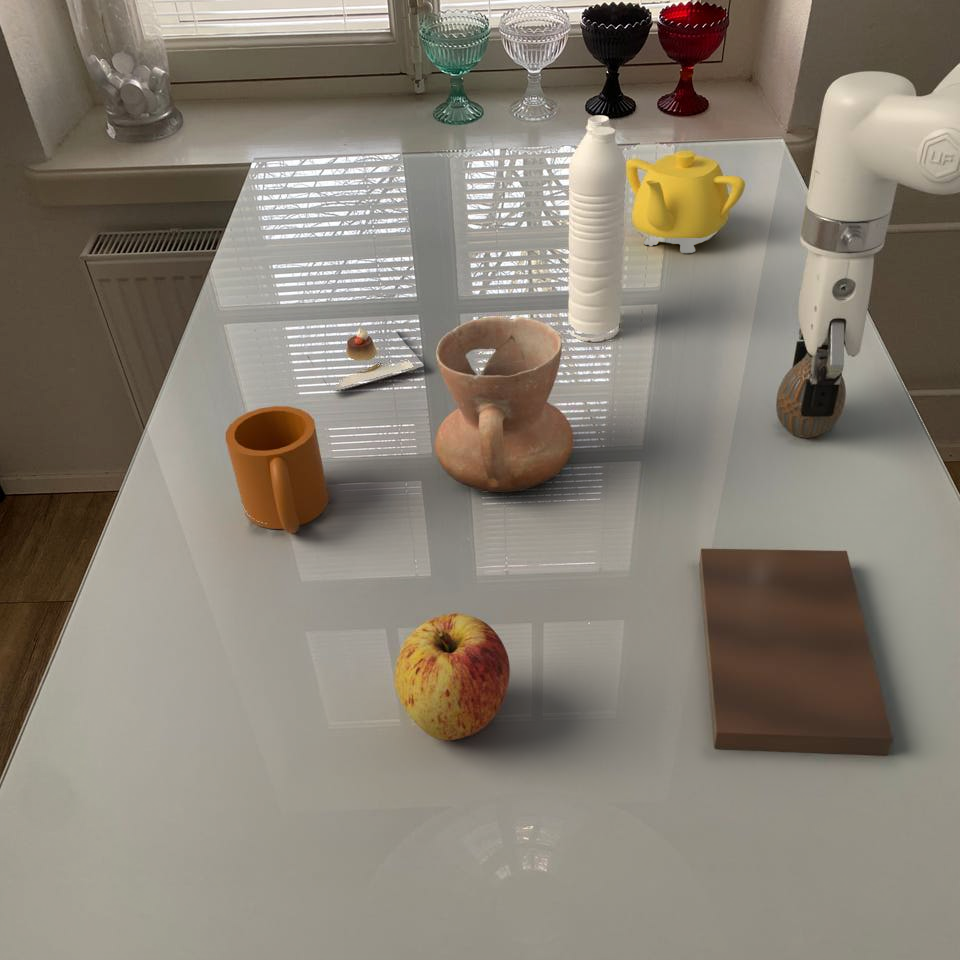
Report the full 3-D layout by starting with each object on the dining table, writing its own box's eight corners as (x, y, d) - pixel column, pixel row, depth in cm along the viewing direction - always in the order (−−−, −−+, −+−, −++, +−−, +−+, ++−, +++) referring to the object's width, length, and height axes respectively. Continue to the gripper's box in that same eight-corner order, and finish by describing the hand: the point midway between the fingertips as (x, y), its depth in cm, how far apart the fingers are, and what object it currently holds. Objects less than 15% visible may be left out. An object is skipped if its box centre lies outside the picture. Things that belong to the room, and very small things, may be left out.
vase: (850, 424, 107) (867, 350, 101) (817, 453, 104) (833, 378, 98) (793, 403, 111) (806, 331, 104) (759, 431, 107) (771, 357, 101)
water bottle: (565, 320, 128) (565, 110, 110) (616, 316, 128) (624, 105, 110) (573, 353, 121) (574, 136, 104) (626, 349, 121) (636, 132, 104)
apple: (502, 769, 77) (495, 682, 70) (390, 757, 79) (372, 671, 71) (519, 683, 83) (515, 596, 76) (415, 674, 85) (401, 587, 78)
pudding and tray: (332, 400, 117) (325, 363, 114) (303, 356, 125) (296, 320, 122) (426, 373, 120) (422, 337, 117) (391, 332, 128) (387, 297, 125)
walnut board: (698, 564, 93) (700, 548, 91) (842, 567, 91) (847, 550, 90) (714, 749, 77) (716, 732, 76) (887, 755, 76) (893, 739, 74)
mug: (235, 553, 98) (212, 478, 92) (250, 481, 107) (230, 408, 100) (325, 546, 98) (308, 471, 92) (333, 475, 106) (318, 402, 100)
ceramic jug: (454, 419, 113) (443, 301, 103) (581, 425, 110) (582, 304, 100) (419, 517, 100) (403, 393, 90) (562, 525, 98) (561, 399, 88)
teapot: (613, 228, 147) (615, 143, 138) (705, 214, 148) (713, 130, 140) (643, 267, 137) (647, 178, 129) (741, 252, 138) (752, 163, 130)
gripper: (905, 266, 85) (862, 442, 98) (870, 188, 97) (835, 353, 110) (815, 268, 86) (784, 441, 99) (791, 190, 98) (766, 353, 111)
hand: (811, 393), depth 104 cm, fingers closed on vase, 6 cm apart
